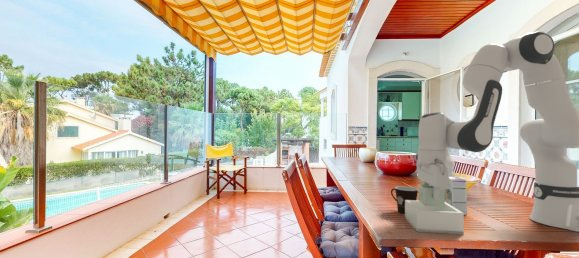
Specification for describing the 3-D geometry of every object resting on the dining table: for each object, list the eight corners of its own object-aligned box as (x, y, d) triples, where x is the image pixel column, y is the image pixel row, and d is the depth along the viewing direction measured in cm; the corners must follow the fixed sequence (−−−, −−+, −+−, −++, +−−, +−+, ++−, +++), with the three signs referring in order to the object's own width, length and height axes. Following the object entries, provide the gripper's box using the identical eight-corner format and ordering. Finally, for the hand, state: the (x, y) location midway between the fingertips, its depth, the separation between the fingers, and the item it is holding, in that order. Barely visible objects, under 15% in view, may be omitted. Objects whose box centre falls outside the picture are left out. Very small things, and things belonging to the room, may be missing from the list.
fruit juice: (442, 208, 117) (442, 144, 117) (426, 203, 126) (426, 143, 126) (460, 207, 119) (460, 144, 119) (443, 202, 128) (443, 143, 128)
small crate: (437, 201, 99) (437, 185, 99) (444, 206, 92) (444, 189, 92) (418, 200, 99) (418, 184, 100) (424, 205, 93) (425, 188, 93)
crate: (444, 220, 102) (444, 201, 102) (463, 234, 88) (463, 213, 88) (404, 218, 104) (405, 199, 104) (417, 231, 90) (417, 210, 90)
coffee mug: (421, 216, 106) (421, 190, 107) (400, 215, 106) (400, 190, 107) (408, 207, 118) (408, 184, 118) (389, 207, 118) (389, 184, 118)
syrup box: (467, 215, 108) (467, 179, 108) (451, 214, 109) (451, 178, 109) (461, 211, 113) (461, 176, 113) (446, 210, 115) (446, 176, 115)
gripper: (454, 161, 85) (454, 204, 85) (430, 155, 105) (430, 190, 105) (433, 160, 86) (433, 203, 86) (413, 155, 106) (413, 189, 106)
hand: (431, 196), depth 96 cm, fingers closed on small crate, 6 cm apart
